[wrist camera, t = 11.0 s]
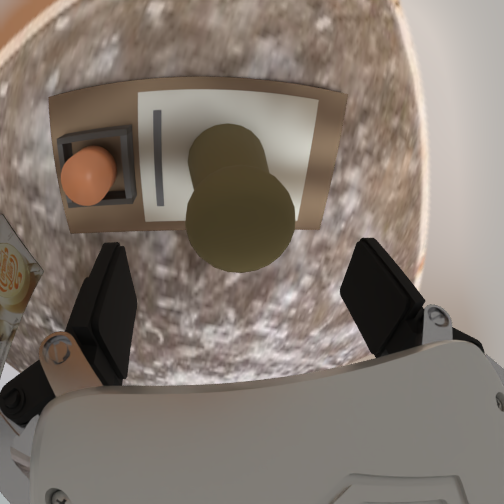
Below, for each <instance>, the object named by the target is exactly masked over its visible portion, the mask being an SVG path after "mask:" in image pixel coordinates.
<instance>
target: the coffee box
mask: <svg viewBox="0 0 504 504" xmlns="http://www.w3.org/2000/svg"><path fill="white" fill-rule="evenodd" d="M42 274H43V270H42V269H41V267H40V266H39V265H38V264H37V262H36V261H35V260H34V259H33V257H32V256H31V255H30V253H29V252H28V251H27V249H26V248H25V247H24V245H23V244H22V243H21V241H20V240H19V238H18V237H17V236H16V234H15V233H14V231H13V230H12V228H11V227H10V225H9V224H8V222H7V221H6V219H5V218H4V216H3V215H2V214H1V215H0V378H1V374H2V371H3V368H4V364H5V361H6V358H7V355H8V352H9V349H10V346H11V343H12V341H13V338H14V335H15V333H16V330H17V328H18V325H19V323H20V320H21V318H22V316H23V313H24V311H25V309H26V307H27V304H28V302H29V300H30V298H31V296H32V294H33V292H34V289H35V287H36V285H37V283H38V282H39V280H40V278H41V276H42Z"/></svg>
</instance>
